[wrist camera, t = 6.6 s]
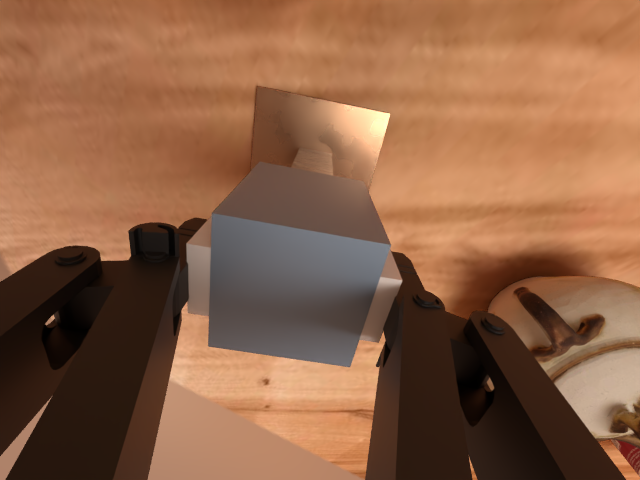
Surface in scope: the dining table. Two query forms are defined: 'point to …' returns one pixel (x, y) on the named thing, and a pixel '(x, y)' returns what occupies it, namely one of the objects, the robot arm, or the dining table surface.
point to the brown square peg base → (317, 135)
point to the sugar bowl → (583, 345)
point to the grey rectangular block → (294, 265)
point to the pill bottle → (629, 454)
